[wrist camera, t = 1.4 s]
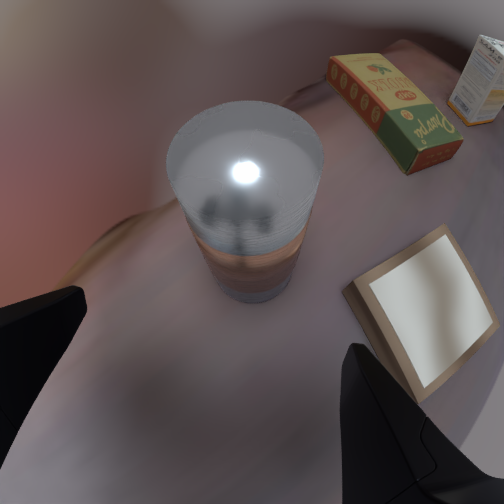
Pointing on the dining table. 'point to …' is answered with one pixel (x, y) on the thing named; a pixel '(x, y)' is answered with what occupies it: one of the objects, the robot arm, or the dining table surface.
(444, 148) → the carton
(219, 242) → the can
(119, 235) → the dining table surface
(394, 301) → the board
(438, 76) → the dining table surface
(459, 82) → the supplement box
